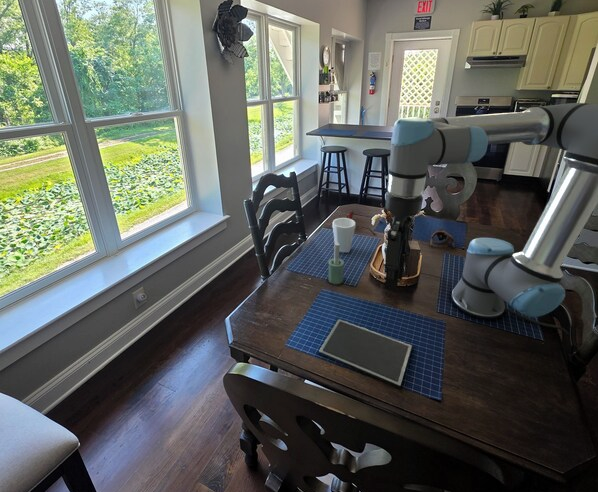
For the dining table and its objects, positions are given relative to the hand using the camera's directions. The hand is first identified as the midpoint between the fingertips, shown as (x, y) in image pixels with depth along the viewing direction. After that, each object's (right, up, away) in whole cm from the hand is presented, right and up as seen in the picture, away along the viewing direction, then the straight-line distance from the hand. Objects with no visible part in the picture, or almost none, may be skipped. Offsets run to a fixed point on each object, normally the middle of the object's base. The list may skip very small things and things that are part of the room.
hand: (393, 283), depth 77 cm
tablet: (-4, -21, +11) cm, 25 cm away
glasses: (+9, +9, +82) cm, 83 cm away
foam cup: (-4, 0, +62) cm, 62 cm away
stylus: (-9, -8, +41) cm, 43 cm away
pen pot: (-9, -9, +41) cm, 43 cm away
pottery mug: (+40, +1, +63) cm, 75 cm away
